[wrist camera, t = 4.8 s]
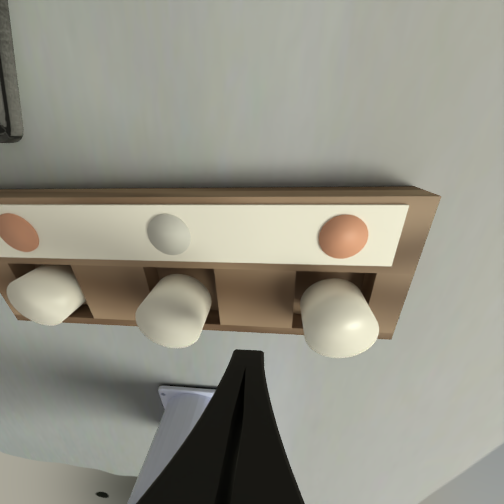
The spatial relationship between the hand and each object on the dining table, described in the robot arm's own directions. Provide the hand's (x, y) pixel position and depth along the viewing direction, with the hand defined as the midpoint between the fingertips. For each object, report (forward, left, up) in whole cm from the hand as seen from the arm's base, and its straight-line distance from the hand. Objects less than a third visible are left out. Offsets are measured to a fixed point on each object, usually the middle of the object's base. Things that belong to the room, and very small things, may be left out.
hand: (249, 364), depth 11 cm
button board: (+2, +5, -8) cm, 9 cm away
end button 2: (0, -5, -5) cm, 7 cm away
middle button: (0, +5, -5) cm, 7 cm away
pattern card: (+5, +5, -5) cm, 9 cm away
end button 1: (0, +15, -6) cm, 16 cm away
